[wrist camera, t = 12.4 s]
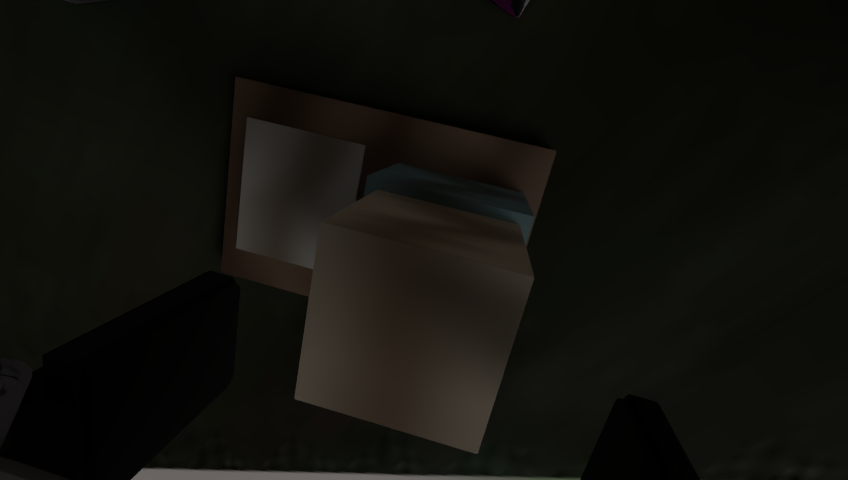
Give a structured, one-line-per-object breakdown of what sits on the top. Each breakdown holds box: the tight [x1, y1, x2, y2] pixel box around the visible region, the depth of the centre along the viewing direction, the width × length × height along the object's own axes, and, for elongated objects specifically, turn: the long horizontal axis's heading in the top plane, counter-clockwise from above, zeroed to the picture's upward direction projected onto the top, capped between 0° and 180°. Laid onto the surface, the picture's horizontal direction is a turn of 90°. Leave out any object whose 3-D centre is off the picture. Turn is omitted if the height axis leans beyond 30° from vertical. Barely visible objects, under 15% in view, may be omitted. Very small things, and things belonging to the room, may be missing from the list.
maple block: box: [295, 190, 534, 454], centre depth 15 cm, size 6×6×6 cm
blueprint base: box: [221, 77, 556, 297], centre depth 22 cm, size 18×12×8 cm, turn 77°
